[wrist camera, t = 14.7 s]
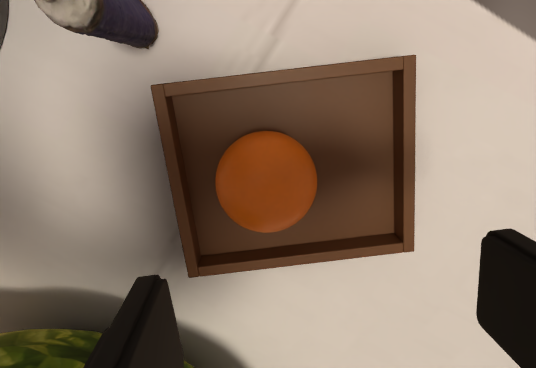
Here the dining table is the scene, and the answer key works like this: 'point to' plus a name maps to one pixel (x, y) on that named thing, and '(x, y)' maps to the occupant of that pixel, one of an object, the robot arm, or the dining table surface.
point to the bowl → (3, 18)
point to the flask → (105, 19)
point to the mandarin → (266, 181)
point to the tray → (319, 148)
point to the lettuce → (48, 348)
